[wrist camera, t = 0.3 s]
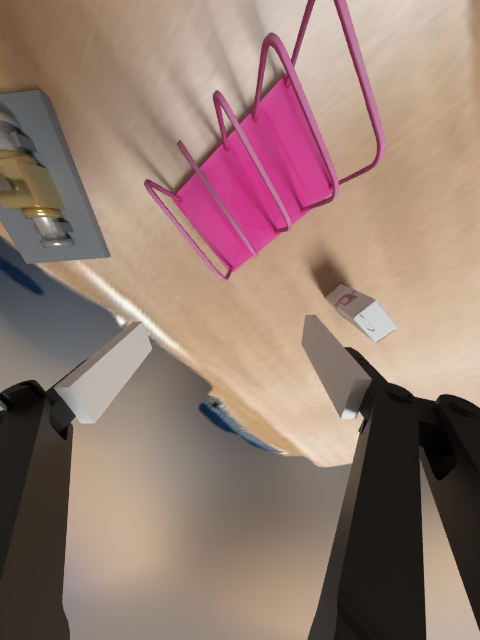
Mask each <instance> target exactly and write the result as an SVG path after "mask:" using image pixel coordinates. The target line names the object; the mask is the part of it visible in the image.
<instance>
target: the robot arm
mask: <svg viewBox="0 0 480 640" xmlns="http://www.w3.org/2000/svg"><path fill="white" fill-rule="evenodd" d="M302 346H303V348H304V350H305V352H306V354H307V356H308V357H309V359H310V361H311V363H312V365H313V367H314V369H315V371H316V373H317V374H318V376H319V378H320V380H321V382H322V384H323V386H324V388H325V390H326V391H327V393H328V395H329V397H330V399H331V401H332V403H333V405H334V407H335V409H336V410H337V412H338V414H339V416H340V418H341V419H350V418H356V417H357V415H358V412H359V411H360V413H361V414H362V416H363V417H364V420H363V422H362V424H361V426H360V429H359V432H360V434H359V438H358V442H357V447H356V451H355V455H354V459H353V463H352V467H351V471H350V476H349V480H348V484H347V488H346V492H345V496H344V500H343V505H342V509H341V513H340V517H339V521H338V525H337V530H336V534H335V538H334V542H333V546H332V550H331V554H330V558H329V563H328V567H327V571H326V575H325V579H324V583H323V588H322V592H321V596H320V600H319V604H318V608H317V611H316V615H315V617H314V620H313V623H312V627H311V630H310V633H309V636H308V640H426V617H425V591H424V565H423V541H422V540H423V538H422V514H421V487H420V460H421V462H422V466H423V468H424V471H425V474H426V477H427V480H428V483H429V486H430V489H431V492H432V494H433V497H434V500H435V503H436V506H437V509H438V512H439V514H440V518H441V521H442V524H443V526H444V529H445V532H446V535H447V538H448V541H449V544H450V547H451V550H452V552H453V555H454V558H455V561H456V564H457V567H458V570H459V573H460V576H461V579H462V581H463V584H464V587H465V590H466V593H467V596H468V599H469V601H470V605H471V607H472V610H473V613H474V616H475V619H476V622H477V625H478V628H479V631H480V408H479V407H477V406H476V405H474V404H473V403H471V402H469V401H467V400H465V399H463V398H460V397H457V396H454V395H448V394H443V395H440V396H439V397H438V398H437V400H436V401H432V400H427V399H422V398H417V397H414V396H413V395H412V394H411V393H410V392H409V391H407V390H406V389H405V388H403V387H400V386H398V385H395V384H392V383H388V382H387V381H386V380H385V379H384V378H383V377H382V376H381V375H380V374H379V372H378V371H377V370H376V369H375V368H374V367H373V366H372V365H371V364H369V362H368V361H367V360H366V359H365V358H364V357H363V356H362V355H361V354H360V353H359V352H358V351H356V350H354V349H353V348H351V347H343V346H342V345H341V343H340V342H339V341H338V340H337V339H336V338H335V337H334V336H333V334H332V333H331V332H330V331H329V330H328V329H327V328H326V326H325V325H324V324H323V323H322V322H321V321H320V320H319V319H318V317H317V316H316V315H305V322H304V329H303V336H302ZM151 350H152V347H151V344H150V342H149V339H148V336H147V333H146V330H145V327H144V324H143V322H133V323H132V324H130V325H129V326H128V327H127V328H125V329H124V330H123V331H122V332H121V333H119V334H118V335H117V336H116V337H114V338H113V339H112V340H111V341H110V342H108V343H107V344H106V345H105V346H104V347H102V348H101V349H100V350H99V351H97V352H96V353H95V354H94V355H93V356H91V357H90V358H89V359H87V360H85V361H83V362H82V363H81V364H80V365H78V366H77V367H76V369H73V370H72V371H71V372H70V373H69V374H67V375H66V376H65V377H63V378H62V379H61V380H60V381H59V382H57V383H56V384H55V385H53V386H52V387H51V388H50V389H49V390H47V391H46V392H45V390H44V389H43V388H42V387H41V386H40V384H39V383H38V382H37V381H35V380H28V381H24V382H20V383H18V384H16V385H13V386H11V387H9V388H7V389H6V390H4V391H3V392H1V393H0V406H1V407H2V408H3V409H4V410H2V411H0V640H70V631H69V625H68V620H67V618H66V615H65V613H64V610H63V605H62V594H63V578H64V563H65V547H66V532H67V516H68V500H69V484H70V469H71V454H72V438H73V425H72V424H71V421H72V420H73V419H74V418H75V417H76V418H77V419H78V420H79V421H80V423H81V424H83V423H95V422H96V421H97V420H98V418H99V417H100V416H101V414H102V413H103V412H104V410H105V409H106V408H107V407H108V405H109V404H110V403H111V401H112V400H113V399H114V398H115V396H116V395H117V394H118V392H119V391H120V390H121V389H122V387H123V386H124V385H125V383H126V382H127V381H128V380H129V378H130V377H131V376H132V374H133V373H134V372H135V371H136V369H137V368H138V367H139V365H140V364H141V363H142V362H143V360H144V359H145V358H146V356H147V355H148V354H149V353H150V351H151ZM419 457H420V460H419Z"/></svg>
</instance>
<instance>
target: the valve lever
mask: <svg viewBox="0 0 480 640" xmlns="http://www.w3.org/2000/svg"><path fill="white" fill-rule="evenodd" d="M13 190H14V187H13V184H12V183H11V181H10V180H9V179H8V178H6V177H5V176H4V175H3V173H0V191H6V192H12V191H13Z"/></svg>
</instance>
